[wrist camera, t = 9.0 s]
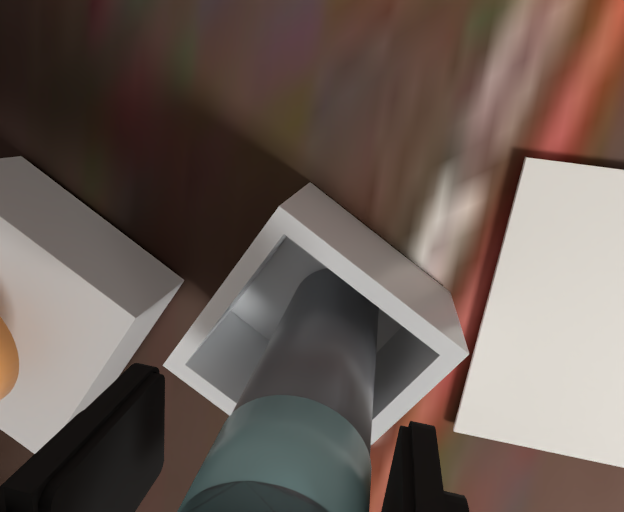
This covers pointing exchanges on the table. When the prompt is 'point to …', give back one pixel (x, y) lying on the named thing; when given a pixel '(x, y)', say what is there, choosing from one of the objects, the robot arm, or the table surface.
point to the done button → (7, 361)
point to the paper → (555, 319)
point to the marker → (301, 413)
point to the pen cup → (283, 284)
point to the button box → (67, 301)
